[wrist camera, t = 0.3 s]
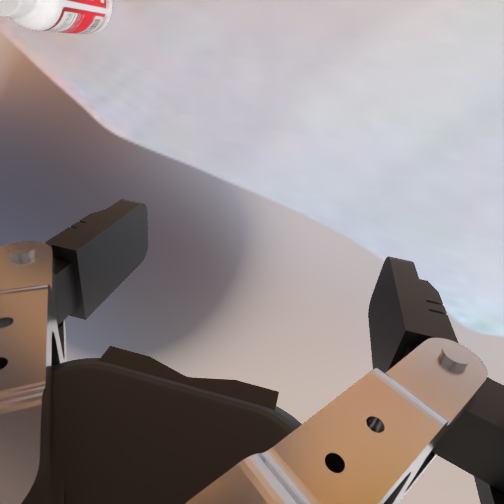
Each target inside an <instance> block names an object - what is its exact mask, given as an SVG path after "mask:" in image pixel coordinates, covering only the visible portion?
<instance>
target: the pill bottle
mask: <svg viewBox="0 0 504 504" xmlns="http://www.w3.org/2000/svg"><path fill="white" fill-rule="evenodd" d="M111 12H112V0H0V16H3V17H9V18H10V19H11V20H12V21H14V22H15V23H16V24H18V25H20V26H22V27H24V28H26V29H30V30H35V31H48V32H62V33H75V34H94V33H97V32H99V31H101V30H102V29H103V28H104V27H105V26H106V25H107V23H108V22H109V19H110V17H111Z"/></svg>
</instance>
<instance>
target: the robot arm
mask: <svg viewBox="0 0 504 504" xmlns="http://www.w3.org/2000/svg"><path fill="white" fill-rule="evenodd" d="M147 249H148V222H147V207H146V205H145V204H143V203H139V202H134V201H130V200H125V199H121V200H119V201H118V202H117V203H115V204H113V205H112V206H110V207H109V208H107V209H106V210H102V211H98V212H95V213H92V214H89V215H88V216H86V217H85V218H83V219H82V220H80V222H77V223H76V224H74V225H72V226H71V228H67V229H66V230H64V231H62V232H61V233H59V234H58V235H56V236H54V237H53V238H51V239H50V240H48V241H47V242H45V243H42V242H36V241H23V242H16V243H12V244H8V245H6V246H3V247H1V248H0V504H399V503H400V501H401V500H402V499H403V497H404V496H405V495H406V494H407V492H408V491H409V490H410V489H411V487H412V486H413V485H414V484H415V482H416V481H417V480H418V479H419V477H420V476H421V475H422V473H423V472H424V471H425V470H426V468H427V467H428V466H429V464H430V463H431V462H432V461H433V459H434V458H435V457H436V456H437V455H438V456H440V457H442V458H444V459H445V460H447V461H449V462H451V463H452V464H454V465H456V466H458V467H459V468H461V469H463V470H465V471H466V472H468V473H470V474H472V475H473V476H474V478H475V482H476V486H477V490H478V494H479V498H480V502H481V504H504V385H501V384H499V383H497V382H495V381H493V380H491V379H490V378H488V377H487V369H486V367H485V365H484V364H483V362H482V361H481V359H480V358H479V357H478V356H477V355H476V354H475V353H473V352H472V351H471V350H469V349H468V348H466V347H464V346H463V345H461V344H459V343H458V341H457V338H456V336H455V333H454V331H453V328H452V326H451V323H450V321H449V318H448V315H446V310H445V308H444V306H442V305H443V303H442V300H441V298H440V295H439V292H438V291H437V290H436V289H435V288H434V287H433V286H432V285H431V284H430V283H429V282H428V281H425V280H420V279H419V277H418V274H417V271H416V268H415V265H414V263H413V262H411V261H407V260H402V259H397V258H393V257H387V258H386V260H385V262H384V264H383V267H382V270H381V272H380V275H379V278H378V281H377V283H376V286H375V289H374V292H373V294H372V297H371V301H370V305H369V313H368V314H369V315H368V317H369V328H370V338H371V339H370V340H371V351H372V362H373V370H372V371H370V372H369V373H368V374H366V375H365V376H364V377H363V378H362V379H360V380H359V381H357V382H356V383H355V384H354V385H352V386H351V387H350V388H348V389H347V390H346V391H345V392H343V393H342V394H341V395H339V396H338V397H337V398H336V399H334V400H333V401H332V402H330V403H329V404H328V405H326V406H325V407H324V408H323V409H321V410H320V411H319V412H317V413H316V414H315V415H314V416H312V417H311V418H310V419H308V420H307V421H306V422H305V423H303V424H301V423H300V422H298V421H297V420H296V419H295V418H294V417H293V416H291V415H290V414H288V413H287V412H285V411H284V410H282V409H280V408H279V407H277V406H276V403H277V398H278V393H279V392H277V391H273V390H270V389H266V388H262V387H259V386H255V385H251V384H248V383H244V382H240V381H237V380H224V379H206V378H191V377H186V376H184V375H182V374H180V373H178V372H176V371H175V370H173V369H171V368H169V367H167V366H165V365H164V364H162V363H160V362H158V361H156V360H155V359H152V358H151V357H149V356H145V355H141V354H138V353H134V352H130V351H127V350H123V349H119V348H116V347H112V346H110V347H109V348H108V350H107V351H106V352H105V353H104V354H103V356H102V357H101V358H87V359H78V360H72V361H68V362H67V355H66V328H65V322H64V319H66V318H67V317H68V316H69V315H70V316H74V317H78V318H81V319H85V320H86V319H87V318H88V317H89V316H90V315H91V314H92V313H93V312H94V311H95V309H96V308H97V307H98V306H99V305H100V304H101V303H102V302H103V301H104V300H105V299H106V298H107V297H108V296H109V295H110V294H111V293H112V292H113V291H114V290H115V289H116V288H117V287H118V286H119V285H120V284H121V283H122V282H123V281H124V280H125V279H126V278H127V277H128V276H129V275H130V274H131V273H132V272H133V271H134V270H135V269H136V268H137V267H138V265H139V264H140V263H141V262H142V261H143V260H144V258H145V255H146V253H147Z"/></svg>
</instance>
